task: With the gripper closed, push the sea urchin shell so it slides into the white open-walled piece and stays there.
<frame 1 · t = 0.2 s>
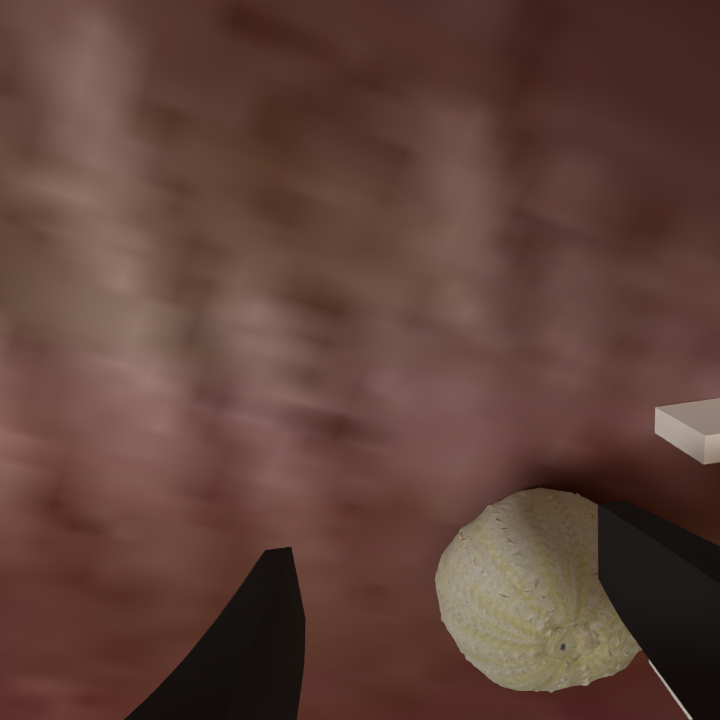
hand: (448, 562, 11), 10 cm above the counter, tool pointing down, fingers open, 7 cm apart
sea urchin shell: (524, 557, 23), on the counter
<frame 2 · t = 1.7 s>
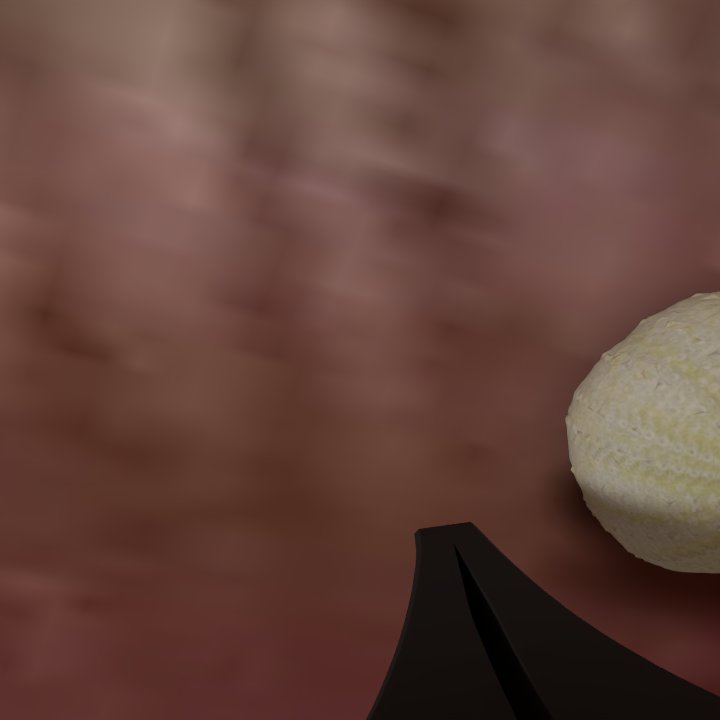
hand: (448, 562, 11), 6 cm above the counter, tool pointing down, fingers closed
sea urchin shell: (673, 412, 18), on the counter
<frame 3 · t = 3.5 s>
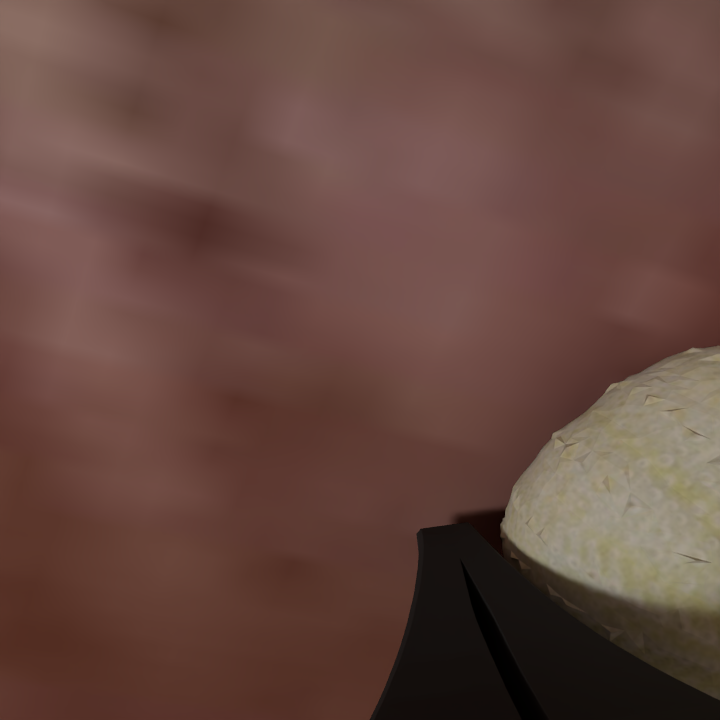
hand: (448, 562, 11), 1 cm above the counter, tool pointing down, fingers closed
sea urchin shell: (659, 503, 12), on the counter, touching gripper
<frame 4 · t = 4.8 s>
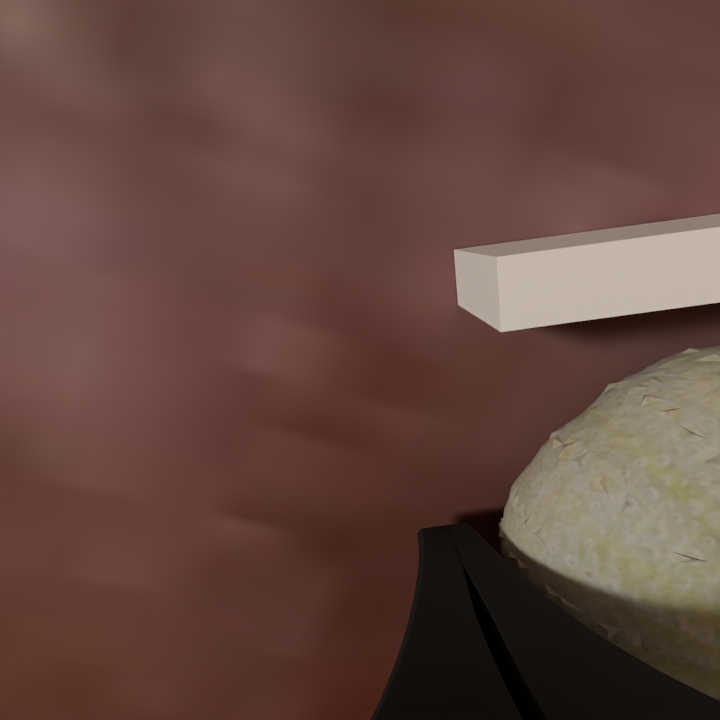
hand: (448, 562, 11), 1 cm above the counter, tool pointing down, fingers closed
sea urchin shell: (657, 502, 13), on the counter, touching gripper
white open-walled piece: (695, 501, 12), on the counter
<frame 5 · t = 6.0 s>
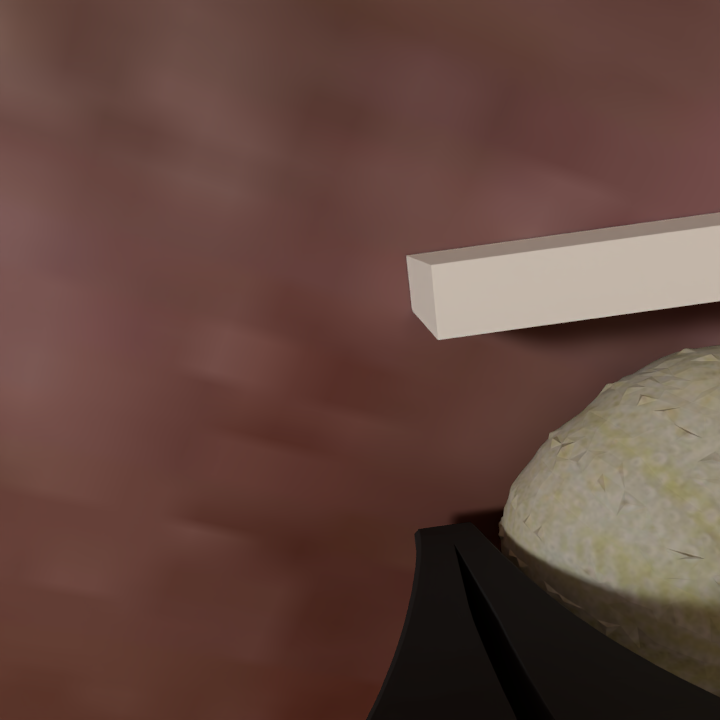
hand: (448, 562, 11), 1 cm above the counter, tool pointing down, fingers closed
sea urchin shell: (655, 500, 13), on the counter
white open-walled piece: (656, 506, 12), on the counter
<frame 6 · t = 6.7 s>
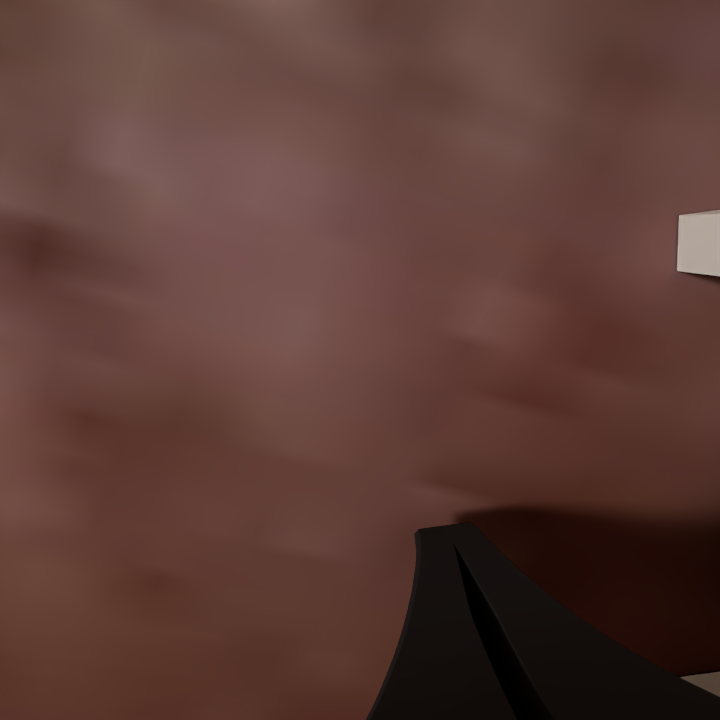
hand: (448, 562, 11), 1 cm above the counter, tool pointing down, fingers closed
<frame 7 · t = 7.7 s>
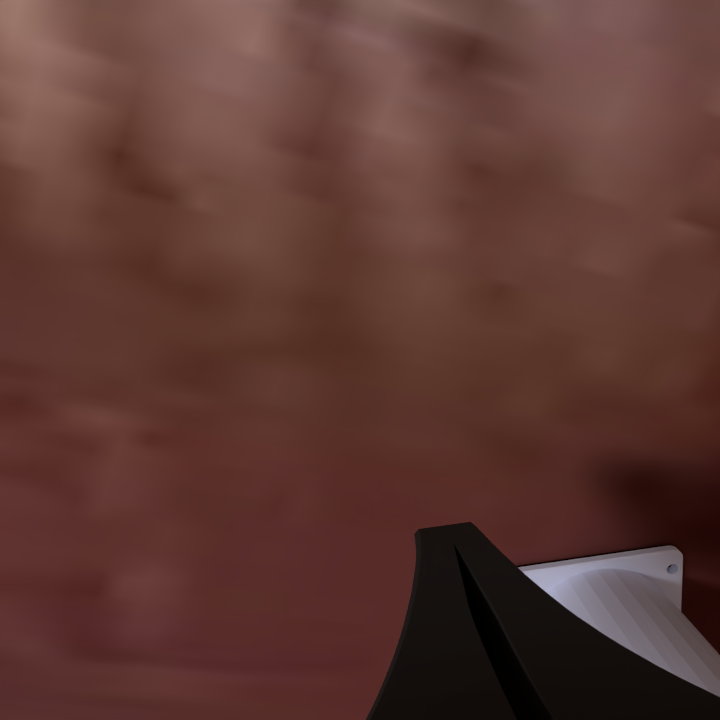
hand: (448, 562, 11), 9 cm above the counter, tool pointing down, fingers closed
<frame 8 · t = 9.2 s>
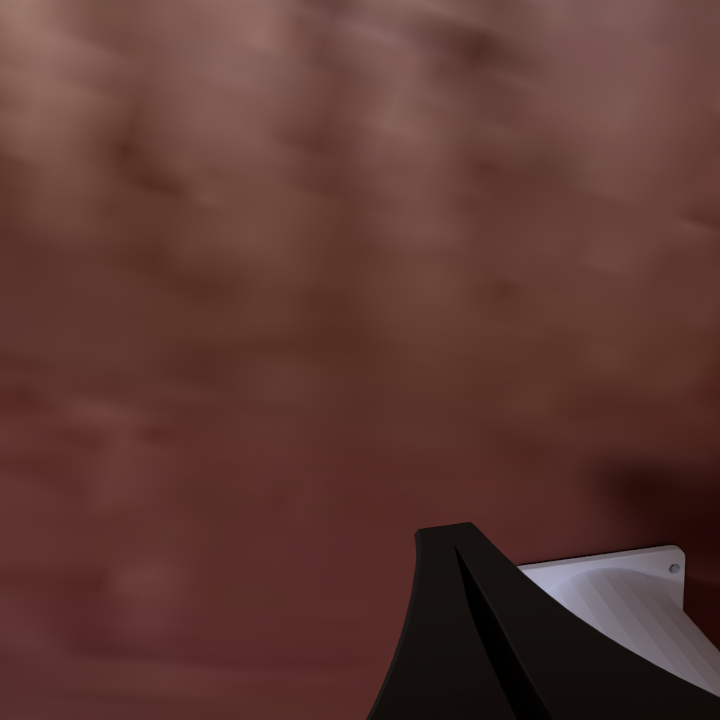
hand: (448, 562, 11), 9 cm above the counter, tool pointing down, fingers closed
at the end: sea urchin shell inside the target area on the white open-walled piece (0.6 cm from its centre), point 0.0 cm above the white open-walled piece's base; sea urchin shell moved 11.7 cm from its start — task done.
